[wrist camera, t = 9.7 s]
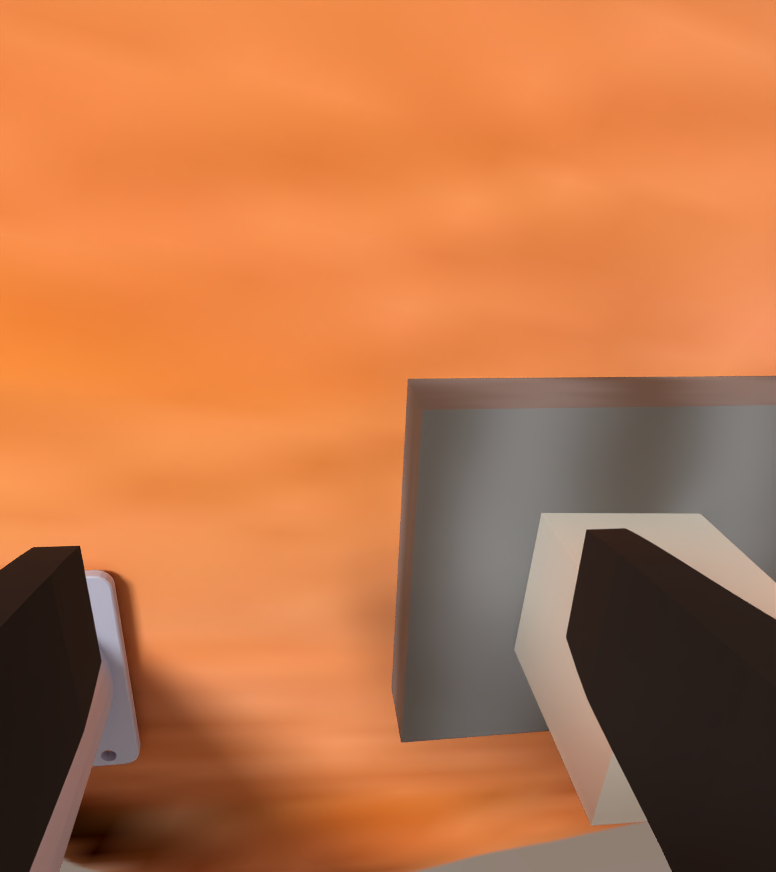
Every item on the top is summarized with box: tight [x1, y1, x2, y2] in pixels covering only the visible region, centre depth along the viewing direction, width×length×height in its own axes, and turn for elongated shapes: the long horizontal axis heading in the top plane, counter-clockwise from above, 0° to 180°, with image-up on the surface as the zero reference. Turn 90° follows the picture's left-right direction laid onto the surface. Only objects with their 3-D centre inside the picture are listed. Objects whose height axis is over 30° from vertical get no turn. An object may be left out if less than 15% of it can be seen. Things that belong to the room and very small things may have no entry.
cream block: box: [514, 513, 776, 826], centre depth 18 cm, size 5×5×6 cm
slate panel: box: [392, 376, 776, 742], centre depth 22 cm, size 12×12×3 cm
